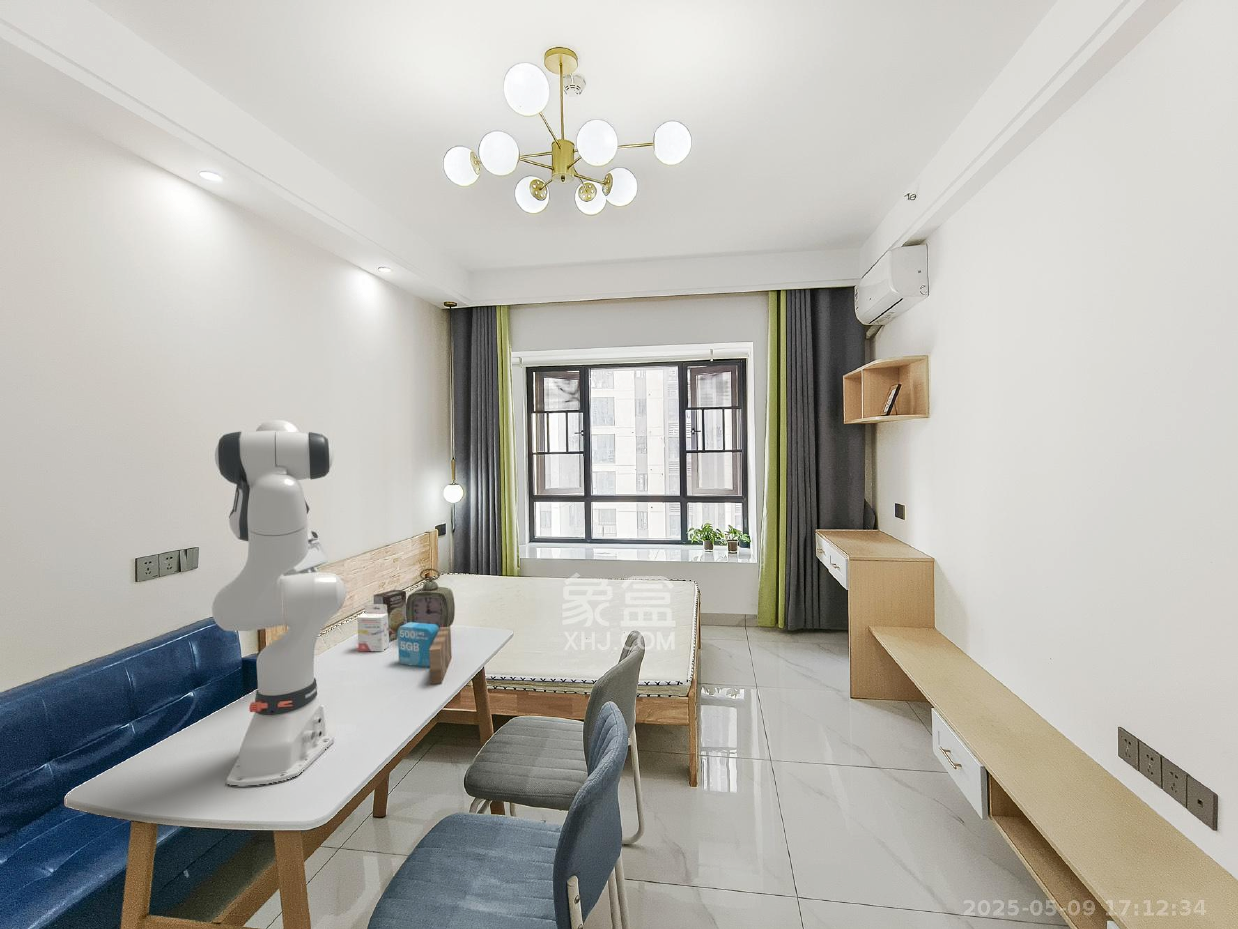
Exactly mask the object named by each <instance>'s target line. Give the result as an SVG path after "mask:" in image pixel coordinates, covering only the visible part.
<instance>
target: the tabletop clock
mask: <svg viewBox="0 0 1238 929" xmlns="http://www.w3.org/2000/svg"><path fill="white" fill-rule="evenodd" d="M427 571H434V572H436V573H437V574H438V576H436V577H435V578H432V576H431V575H430V576H428V578H427V577H426V578H425V577H423V576H422V574H423V573H424V572H427ZM440 576H441V573H440V571H439V570H437V569H436V568H432V567H431V568H424V569H423V570H421V571H420V573H419V577H420V578H421V579H422V580H424V581H426V582H424V584H423V586H422V587H420V588H418V589H416V590H415V591H413V592H411V593H410V594H408V595H407V597H406V617H407V623H409V622H413V623H425V624H435V625H437V626H438V628H439V630H440V628H441V627H450V628H451V626H452V625H453V623H454V620H455V614H456V613H455V611H456V605H455V597H454V593H453V590H452V589H451V588H449V587H443V586H439V585H438V583H437V582H435V581H436V580H438V579H439V578H440Z"/></svg>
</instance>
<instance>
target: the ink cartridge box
mask: <svg viewBox="0 0 1238 929" xmlns="http://www.w3.org/2000/svg"><path fill="white" fill-rule="evenodd" d="M363 606H364V613H362V614H361V615H359V616H357V642H358V644H357V647H358V652H359V651H383V652H384V651H385V650H384V649H385V648H387V647H388V646H389V647H390V642H389V629H388V613H387V605H380V604H374V603H373V604H372V603H371V604H370V603H367V604H366V603H365V604H364V605H363ZM375 607H377V608H380V609H379V610H378V609H374V608H375ZM389 647H388V648H389ZM388 648H387V649H388Z"/></svg>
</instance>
